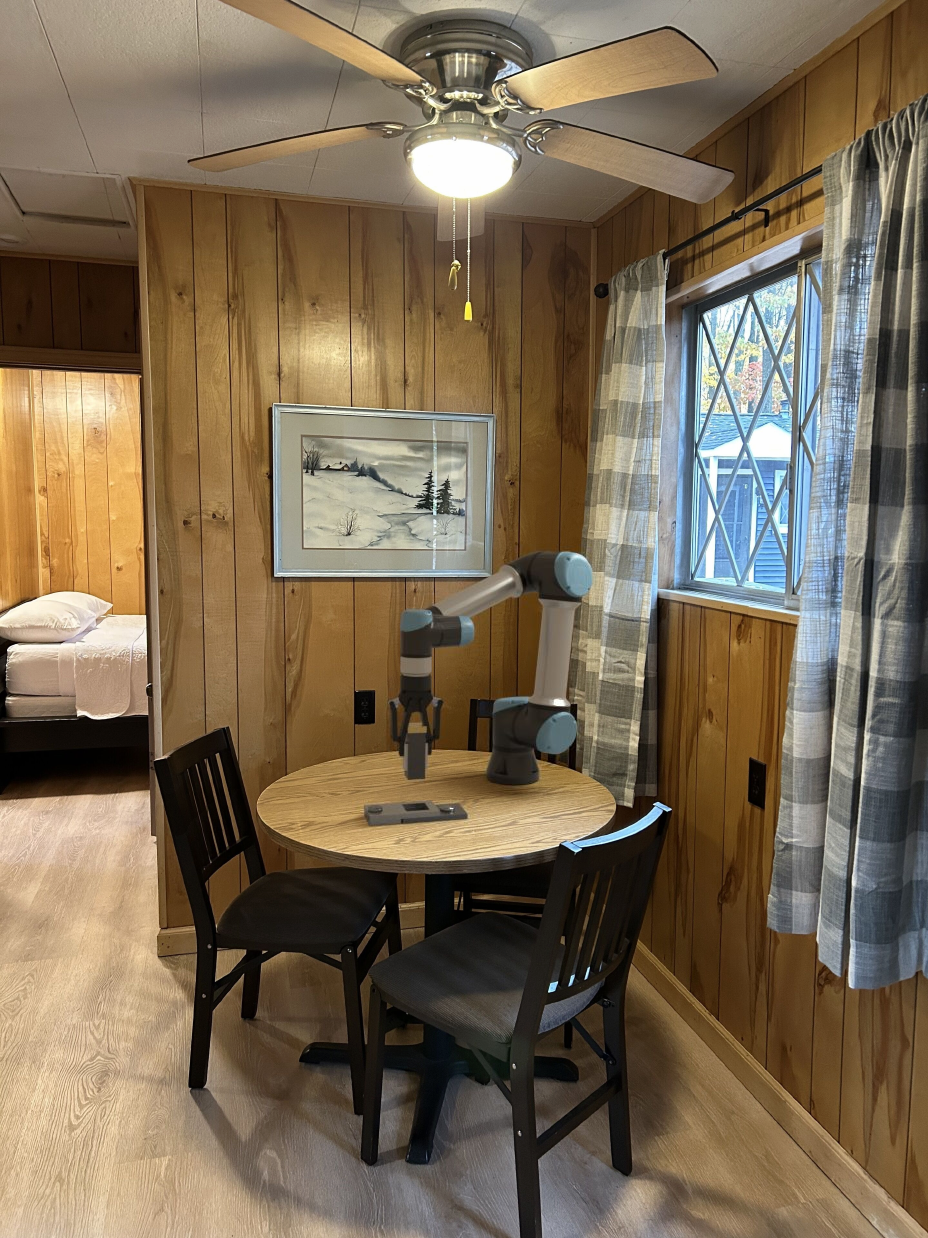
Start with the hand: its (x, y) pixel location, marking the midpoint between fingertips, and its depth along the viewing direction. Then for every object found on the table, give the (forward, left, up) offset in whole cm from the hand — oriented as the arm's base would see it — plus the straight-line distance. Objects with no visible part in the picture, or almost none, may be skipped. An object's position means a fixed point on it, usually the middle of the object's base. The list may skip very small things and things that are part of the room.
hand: (414, 768), depth 222 cm
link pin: (0, 0, -2) cm, 2 cm away
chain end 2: (-4, 0, -12) cm, 13 cm away
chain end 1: (+4, 0, -12) cm, 13 cm away
